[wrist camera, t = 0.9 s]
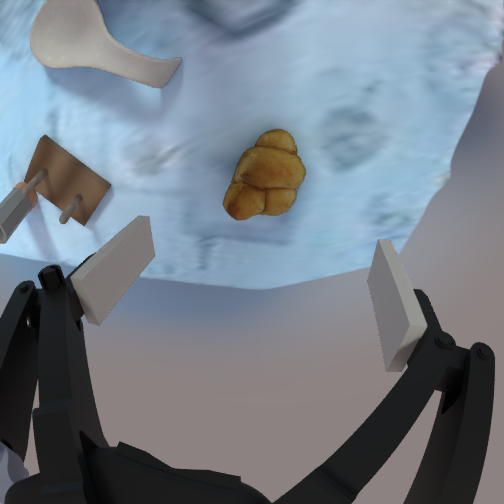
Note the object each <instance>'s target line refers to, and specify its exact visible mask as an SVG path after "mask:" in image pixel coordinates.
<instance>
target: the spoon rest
mask: <svg viewBox="0 0 504 504" xmlns="http://www.w3.org/2000/svg"><path fill="white" fill-rule="evenodd" d="M30 47H31V51H32V53H33V55H34V57H35V58H36V60H37V61H38V62H39V63H41V64H42V65H44V66H46V67H49V68H54V69H63V68H76V67H89V68H96V69H101V70H104V71H107V72H110V73H113V74H115V75H118V76H121V77H124V78H127V79H130V80H133V81H136V82H139V83H142V84H145V85H148V86H151V87H154V88H163V87H164V86H165V85H166V84H167V82H168V81H169V79H170V78H171V76H172V75H173V73H174V72H175V70H176V69H177V67H178V66H179V64H180V63H181V61H182V58H180V57H177V58H174V59H170V60H160V59H155V58H151V57H148V56H145V55H142V54H140V53H137V52H135V51H133V50H131V49H129V48H127V47H125V46H124V45H122V44H120V43H119V42H117V41H116V40H115V39H114V38H113V37H112V36H111V34H110V33H109V31H108V29H107V27H106V25H105V21H104V18H103V15H102V12H101V9H100V7H99V4H98V2H97V1H96V0H47V1H46V2H45V3H44V4H43V5H42V7H41V8H40V10H39V11H38V13H37V15H36V17H35V19H34V22H33V24H32V28H31V32H30Z"/></svg>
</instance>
